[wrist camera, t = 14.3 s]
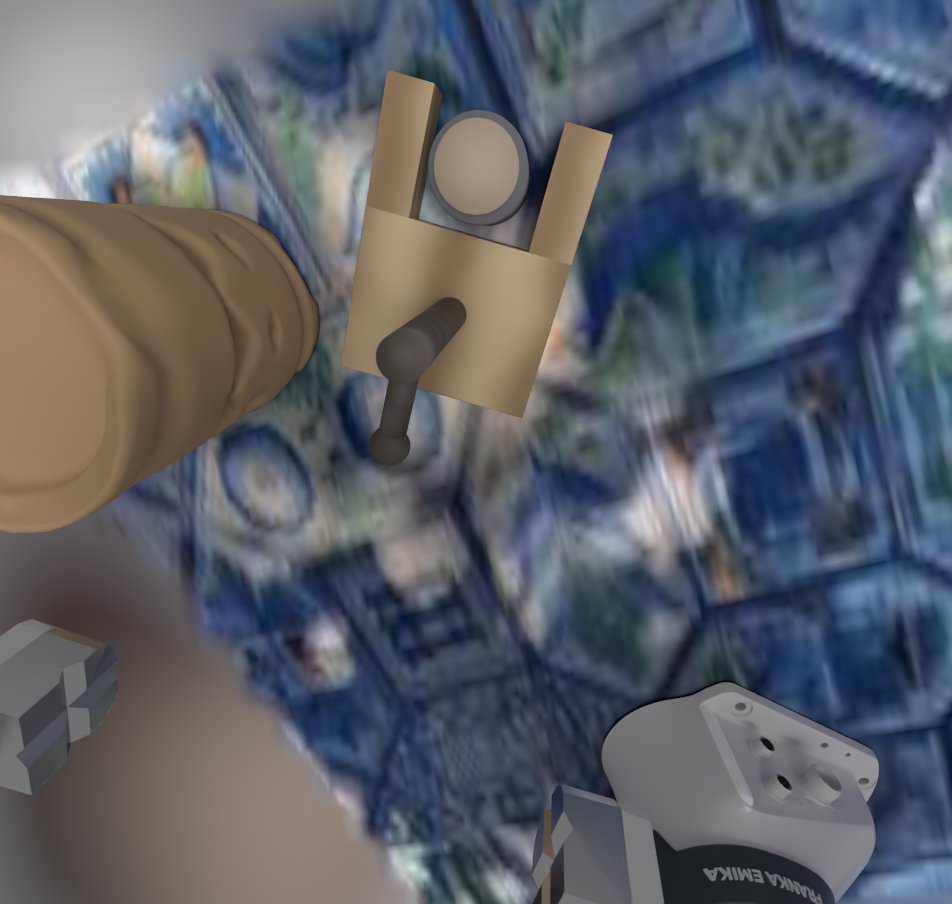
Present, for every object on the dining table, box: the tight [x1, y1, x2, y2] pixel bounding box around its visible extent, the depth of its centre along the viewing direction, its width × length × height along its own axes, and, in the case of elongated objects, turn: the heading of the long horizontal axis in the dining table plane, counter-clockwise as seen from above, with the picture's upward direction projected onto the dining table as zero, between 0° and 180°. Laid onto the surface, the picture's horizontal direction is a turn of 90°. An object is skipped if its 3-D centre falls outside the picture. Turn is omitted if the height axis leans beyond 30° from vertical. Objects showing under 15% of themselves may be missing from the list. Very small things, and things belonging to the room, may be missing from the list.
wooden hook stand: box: [341, 70, 613, 466], centre depth 26 cm, size 12×16×14 cm
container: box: [0, 195, 320, 533], centre depth 27 cm, size 13×13×18 cm
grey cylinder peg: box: [428, 110, 530, 225], centre depth 27 cm, size 5×5×7 cm
